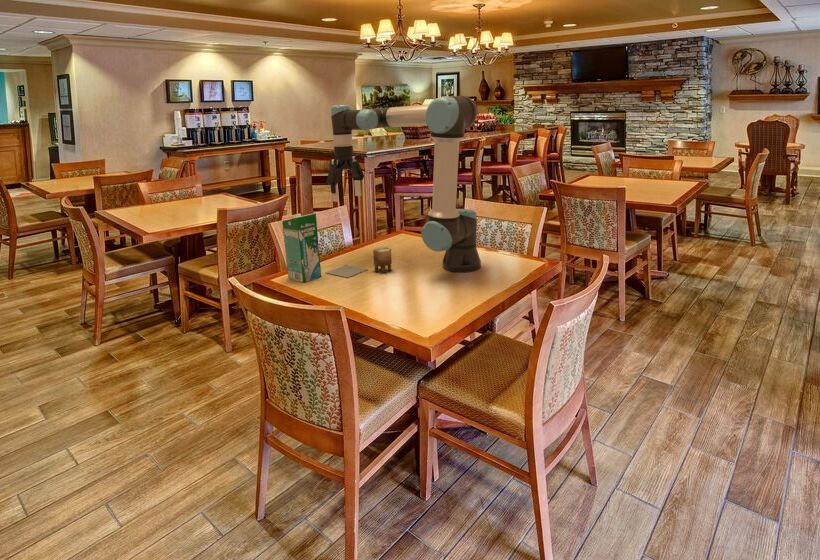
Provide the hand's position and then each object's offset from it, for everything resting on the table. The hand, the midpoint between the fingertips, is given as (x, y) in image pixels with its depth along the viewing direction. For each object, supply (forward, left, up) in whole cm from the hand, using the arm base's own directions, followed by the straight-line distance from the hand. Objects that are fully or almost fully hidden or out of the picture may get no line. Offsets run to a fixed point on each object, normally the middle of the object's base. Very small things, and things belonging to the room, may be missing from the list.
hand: (347, 198), depth 230 cm
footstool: (-22, +6, -26) cm, 34 cm away
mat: (-10, +14, -26) cm, 31 cm away
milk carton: (-1, +28, -26) cm, 38 cm away
